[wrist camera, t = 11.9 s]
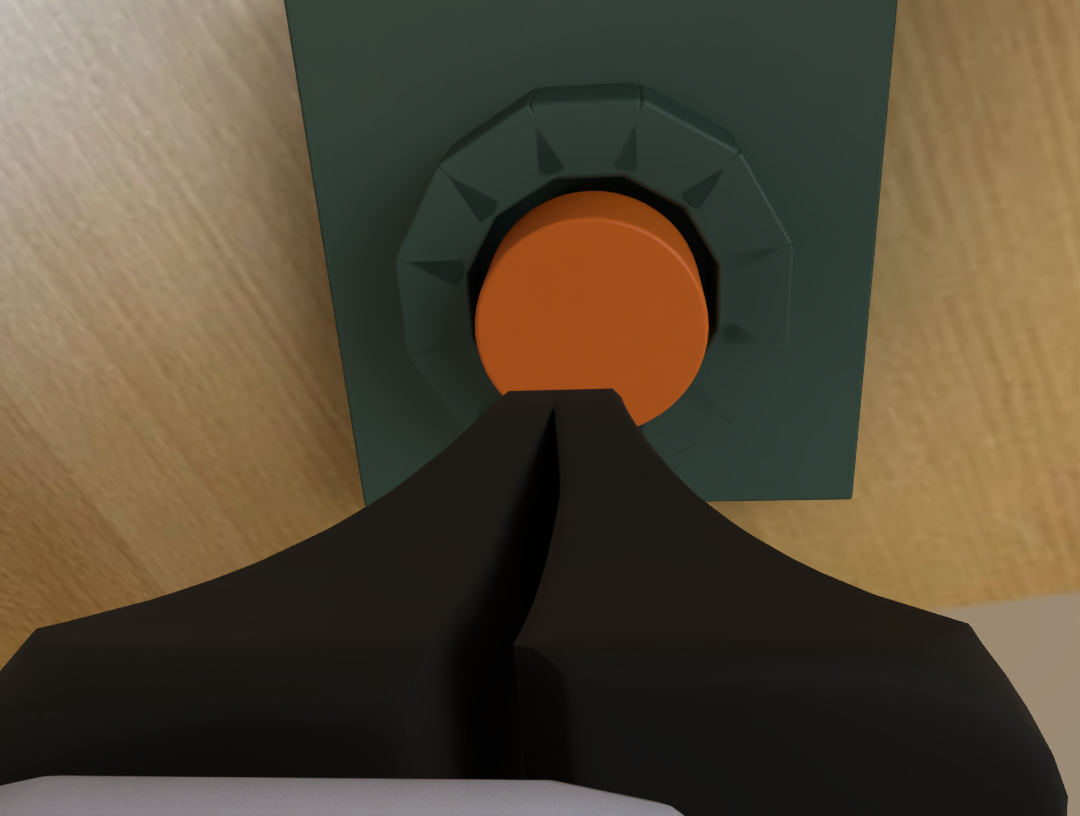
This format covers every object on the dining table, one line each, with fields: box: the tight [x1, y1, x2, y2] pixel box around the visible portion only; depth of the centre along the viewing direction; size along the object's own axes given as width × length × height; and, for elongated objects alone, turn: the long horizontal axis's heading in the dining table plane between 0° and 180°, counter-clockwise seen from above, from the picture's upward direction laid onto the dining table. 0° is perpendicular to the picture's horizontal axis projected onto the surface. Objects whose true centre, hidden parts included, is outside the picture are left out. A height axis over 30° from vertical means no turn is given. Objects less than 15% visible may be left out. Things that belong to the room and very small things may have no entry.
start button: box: [475, 191, 709, 426], centre depth 16 cm, size 4×4×2 cm
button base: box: [284, 0, 898, 506], centre depth 18 cm, size 10×10×4 cm
